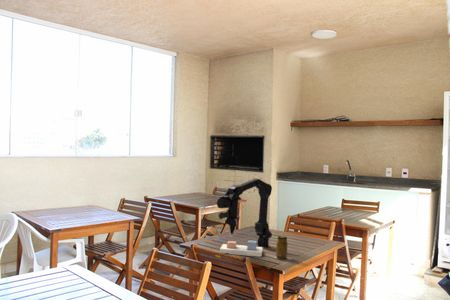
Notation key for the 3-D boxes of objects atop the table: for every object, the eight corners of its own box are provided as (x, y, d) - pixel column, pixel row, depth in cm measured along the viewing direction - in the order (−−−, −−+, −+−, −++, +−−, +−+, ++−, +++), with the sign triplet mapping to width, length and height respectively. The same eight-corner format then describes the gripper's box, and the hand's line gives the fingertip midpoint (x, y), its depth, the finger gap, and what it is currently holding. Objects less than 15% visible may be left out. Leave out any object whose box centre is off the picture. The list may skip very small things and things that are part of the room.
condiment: (280, 255, 226) (281, 234, 226) (292, 258, 220) (293, 237, 221) (272, 257, 221) (273, 236, 221) (285, 261, 215) (286, 239, 215)
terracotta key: (236, 248, 232) (236, 241, 232) (235, 250, 227) (235, 243, 227) (227, 247, 233) (228, 240, 233) (226, 249, 228) (227, 242, 228)
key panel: (262, 251, 233) (262, 247, 233) (261, 256, 222) (261, 252, 222) (222, 248, 237) (223, 243, 237) (219, 253, 225) (219, 248, 225)
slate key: (256, 247, 230) (256, 240, 230) (255, 249, 226) (256, 242, 226) (247, 246, 231) (248, 240, 231) (247, 249, 226) (247, 242, 226)
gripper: (222, 204, 240) (221, 229, 240) (217, 208, 222) (215, 236, 222) (240, 205, 239) (238, 231, 239) (236, 210, 220) (235, 237, 220)
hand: (231, 233), depth 230 cm, fingers closed
